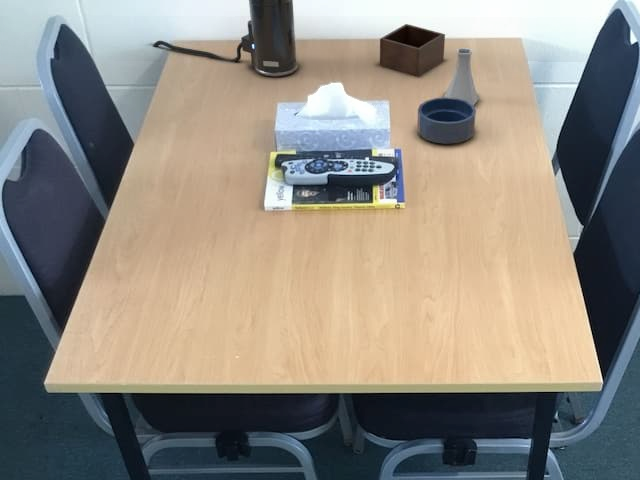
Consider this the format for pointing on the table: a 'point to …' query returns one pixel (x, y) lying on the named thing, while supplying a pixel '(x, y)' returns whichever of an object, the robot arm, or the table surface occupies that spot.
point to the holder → (412, 49)
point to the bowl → (446, 120)
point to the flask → (462, 79)
